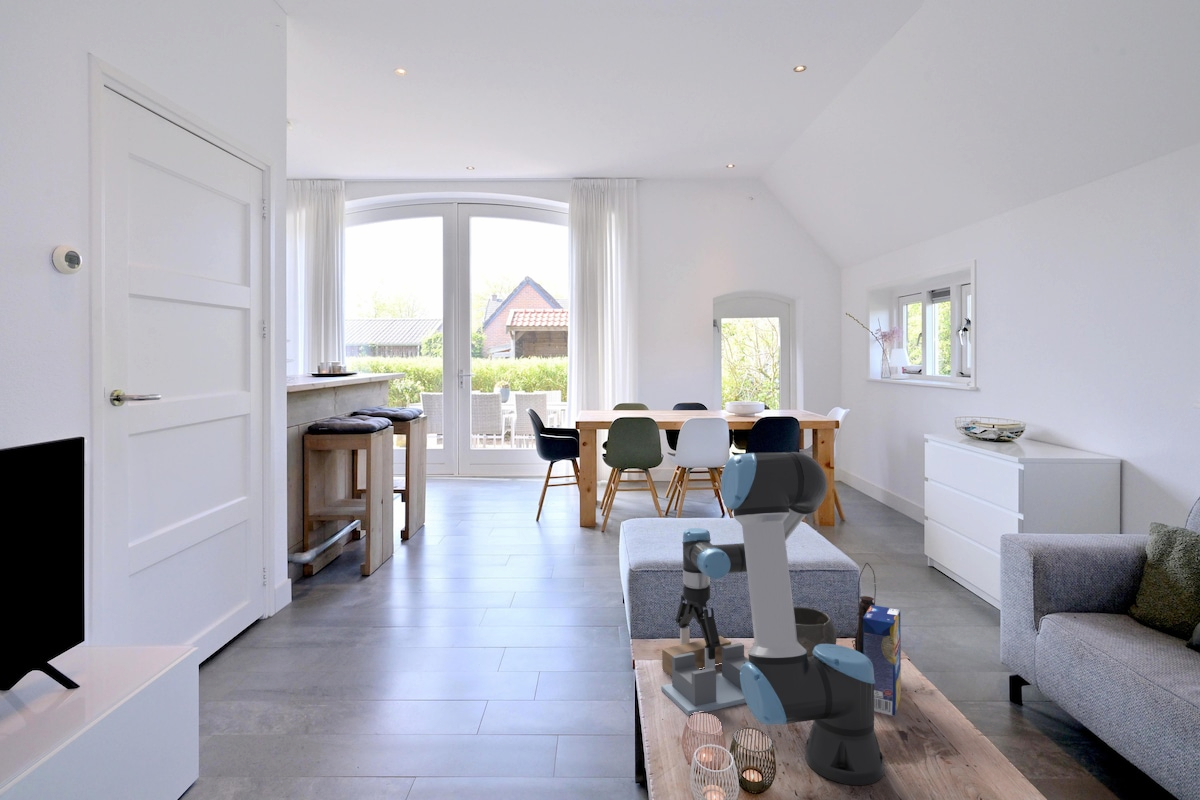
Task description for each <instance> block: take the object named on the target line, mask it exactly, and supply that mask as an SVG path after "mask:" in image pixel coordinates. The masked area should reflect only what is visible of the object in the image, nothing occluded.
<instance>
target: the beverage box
mask: <svg viewBox="0 0 1200 800" xmlns="http://www.w3.org/2000/svg"><path fill="white" fill-rule="evenodd" d="M901 642H902V641H901V609H900V608H899V609H898V608H893V607H886V606H880V605H876V604H875V605H871V606H870V607H869V609H868V611H867V612H866V614H865V616H864V617H863V654H864V655H865V656H866V657H868V658H869V659H870V661H871V662H872V664H873V670H874V679H875V683H874V712H877V713H880V712H881V713H880V714H883V715H884V714H885V715H887V716H888V715H889V716H893V717H896V713H897V710H898V708H899V707H898V706H899V703H900V700H901V697H902V696H901V695H902V694H901V693H902V691H901V689H902V688H901V687H902V677H901V676H902V674H901V673H902V672H901V668H902V665H901V664H902V663H901V662H902V660H901V656H902V655H901V652H902V651H901V650H902V648H901Z"/></svg>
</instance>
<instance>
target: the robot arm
mask: <svg viewBox="0 0 1200 800" xmlns="http://www.w3.org/2000/svg"><path fill="white" fill-rule="evenodd" d="M720 480H721V481H720V495H721V499H722V500H723V505H724V506H725V507H726V508H727V509H729V510H731V511H733V512H732V513H733V518H734V520H736V521H737V522H738V523H739V524H740V525H741V528H742V538H743V542H741V543H728V544H727V543H726V544H712V543H711V541H712V540H711V539H712V538H711V532H710V531H709V530H708V529H705V528H700V527H694V528H693V527H692V528H687V529H685V530H684V531H683V534H682V582H683V584H682V585H683V586H682V590H683V591H682V593H683V594H681V595H680V603H679V607H678V610H677V613H676V617H675V622H676V624H678V627H679V642H680V643H679V645H683V644H687V643H691V640H690V630H691V629H690V626H691V625H690V623H691V622H692V619H695V621H696V622H697V624H698V625H699V627H700V630H701V632H702V637H703V640H704V639H705V642H706V646H705V669H708V668H714V669H716V666H715V647H720V641H719V636H720V635H719V633H718V629H717V625H716V619H715V614H714V613H715V612H714V608H713V607H711V608H708V606H707V605H708V604H707V602H708V601H709V600H710V599H711V586H710V584H711V579H713V580H718V579H719V580H720V579H723V578H724V577H725V576H727V574H738V573H746V575H747V585H748V592H749V594H748V595H749V603H750V604H749V605H750V612H751V621H752V629H753V630H752V631H753V632H752V633H753V640H754V642H753V645H752V646H751V647H750V649H749V650H748V651H747V652H748V653H747V654H748V659H749V662H746V663H745V664H743V665H742V666H741V669H740V670H741V672H740V682H741V688H742V692H743V695H744V698H745V701H746V703H745V704H746V705H747V708H748V709H749V711H750V712H751V714H752V716H753V717H754V719H756V721H758V722H759V723H760V724H762V725H765V726H775V725H780V726H785V725H787V724H794V723H795V724H796V723H802V722H803V723H804V722H810V721H813V722H812V724H811V727H810V728H811V729H810V732H809V736H808V738H807V740H806V742H805V749H804V750H805V751H804V752H805V754H804V755H805V756H804V757H805V761H806V763H807V764H808V766H809V767H810V768H811V769H812V770H813V771H814V772H815V773H817V774H818V775H820V776H821V777H824V778H825V779H828V780H830V781H833V782H835V783H836V782H837V783H839V784H843V785H852V786H865V785H870V784H874V783H876V782H878V781H880V780H881V779H882V777H883V776H884V774H885V763H884V762H885V760H884V756H883V753H882V751H881V748H880V744H879V741H878V737H877V735H876V732H875V711H874V683H875V679H874V670H873V664H872V662H871V661H870V659H869V658H868V657H866V656H865V655H864V654H862V653H860V652H858V651H856V650H854V648H850V647H847V646H843V645H839V644H836V645H835V644H819V645H817V646H815V647H814V650H813V655H814V656H812V657H807V651H806V649H805V648H803V647H802V646H801V645H800V644H799V643H798V641H797V632H796V624H795V616H794V608H793V607H794V600H793V593H792V592H793V591H792V584H791V576H790V569H789V560H788V551H787V544H786V541H787V540H788V539H789V537H790V536H792V534H793V532H795V530H796V528H797V527H799V525H800V524H801V523H802V521H803V520H804V519H805V517H806V516H807V515H811V514H813V513H815V512H816V511H817V510H818V509H819V507H820V506H822V503H824V500H825V498H826V496H827V495H826V494H827V492H828V481H827V475H826V472H825V471H824V469H823V468H822V466H821V465H820V464H819V462H817V460H815V459H814V458H813V457H811V456H809V455H807V454H804V453H801V452H797V451H788V452H748V453H741V454H734V455H733V456H731V457H730V458H729V459H728V460H727V462H726V464H725V465H724V468H723V471H722V475H721V479H720ZM709 642H710V643H709Z"/></svg>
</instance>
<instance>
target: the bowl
mask: <svg viewBox="0 0 1200 800" xmlns="http://www.w3.org/2000/svg"><path fill="white" fill-rule="evenodd" d="M793 608H794V616H795V624H796V632H797V641H798V643H799V644H800V645H801V646H802V647H803V648H805V649H806V651H807V657H812V656H814V655H813V650H814V647H815V646H817V645H819V644H835V645H837V631H836V628H835V627H836V626H835V625H834V623H833V620H832V619H831V617H830V616H829V615H828V614H827V613H826V612H824V611H822V610H819V609H817V608H816V609H815V608H812V607H811V608H810V607H806V606H805V607H804V606H793Z"/></svg>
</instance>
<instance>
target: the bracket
mask: <svg viewBox="0 0 1200 800" xmlns="http://www.w3.org/2000/svg"><path fill="white" fill-rule="evenodd" d="M746 662H749V657H746V656H745V644H743V643H741V642H740V643H739V642H738V643H733V644H731V645H727V646H722V664H721V673H717V669H716V668H715V669H714V668H708V669H702V670H700V669H699V668H698V667H696V666H695V654H694V653H693V652H690V653H684V654H679V655H674V656H672V676H671V683H667V684H663V685H661V686H660V689H661V690H660V691H662V693H663V694H664V695H666V696H667V697H668V698H669V699H670V700H671V701H672V702H673V703H674V704H675V705H676V706H677V707H679V709H681V710H682V711H683V713H684V714H686V715H687V716H688V717H690V716H689V715H690V714H692V713H694V712H699V711H705V712H704V713H707V712H708V713H709V712H711V711H715V710H717V711H718V710H719V709H720V710H721V709H724V708H730V707H733V706H739V705H743V704H747V703H746V701H745V698H744V695H743V692H742V688H741V682H740V672H741V670H740V669H741V666H742V665H743V664H745V663H746Z"/></svg>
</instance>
